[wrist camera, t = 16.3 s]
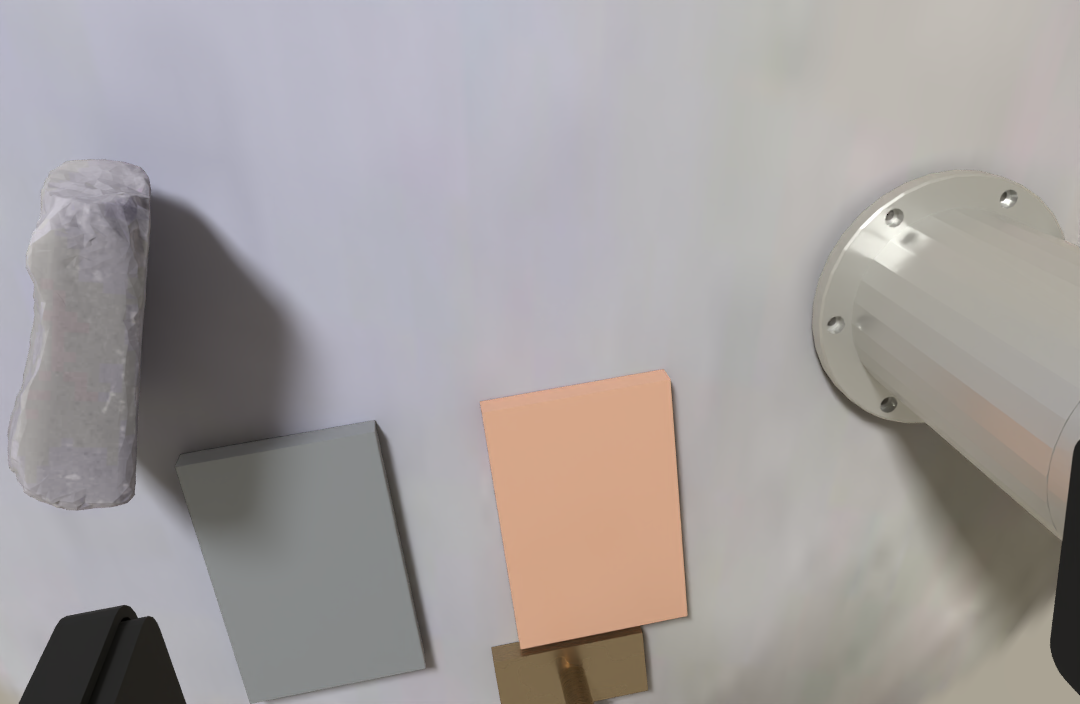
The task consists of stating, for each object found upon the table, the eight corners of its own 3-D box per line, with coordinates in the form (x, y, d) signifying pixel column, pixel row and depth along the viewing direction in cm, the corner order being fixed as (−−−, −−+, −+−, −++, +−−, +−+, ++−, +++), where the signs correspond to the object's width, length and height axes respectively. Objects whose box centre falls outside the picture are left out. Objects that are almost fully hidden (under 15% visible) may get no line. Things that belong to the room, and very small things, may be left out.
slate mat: (374, 420, 45) (374, 431, 44) (424, 652, 51) (425, 668, 49) (180, 454, 44) (175, 467, 43) (252, 687, 50) (250, 703, 49)
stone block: (178, 412, 43) (123, 535, 34) (64, 396, 42) (-24, 518, 33) (208, 155, 39) (155, 217, 30) (83, 130, 38) (-11, 186, 29)
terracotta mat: (663, 369, 46) (670, 379, 45) (680, 601, 52) (687, 616, 51) (479, 401, 45) (482, 412, 44) (517, 634, 51) (520, 649, 50)
